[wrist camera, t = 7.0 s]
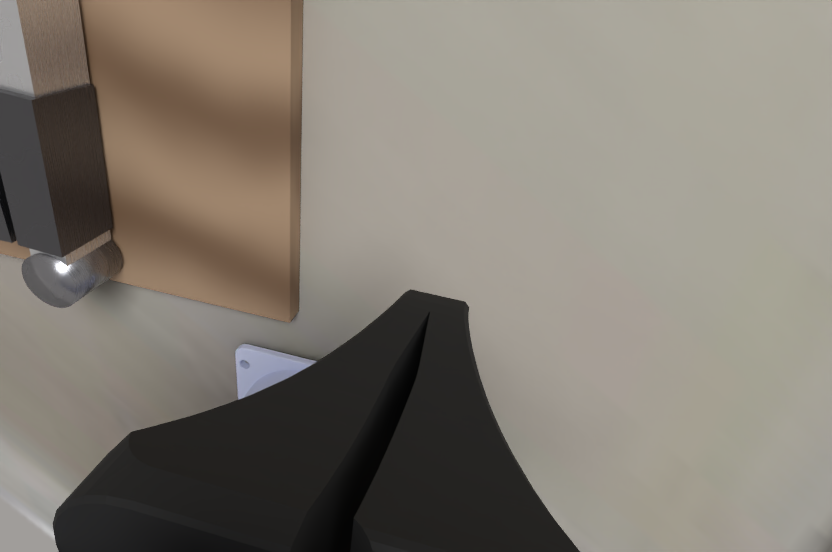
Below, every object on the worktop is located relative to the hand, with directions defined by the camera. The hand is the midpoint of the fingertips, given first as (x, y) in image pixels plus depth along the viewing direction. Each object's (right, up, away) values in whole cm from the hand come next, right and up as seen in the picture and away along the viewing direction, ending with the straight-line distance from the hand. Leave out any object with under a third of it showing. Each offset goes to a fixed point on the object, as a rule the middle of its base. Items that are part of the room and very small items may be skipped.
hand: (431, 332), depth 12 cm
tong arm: (-13, +9, +8) cm, 18 cm away
